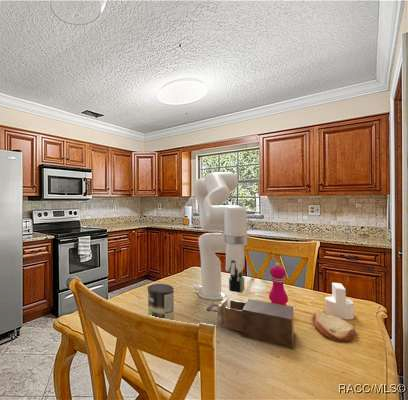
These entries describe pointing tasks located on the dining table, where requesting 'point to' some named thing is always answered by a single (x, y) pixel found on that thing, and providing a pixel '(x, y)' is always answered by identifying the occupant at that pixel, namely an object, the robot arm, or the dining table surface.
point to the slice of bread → (334, 327)
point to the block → (240, 284)
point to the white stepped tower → (339, 303)
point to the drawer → (229, 314)
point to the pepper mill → (278, 285)
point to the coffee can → (161, 301)
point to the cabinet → (268, 322)
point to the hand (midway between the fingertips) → (236, 289)
